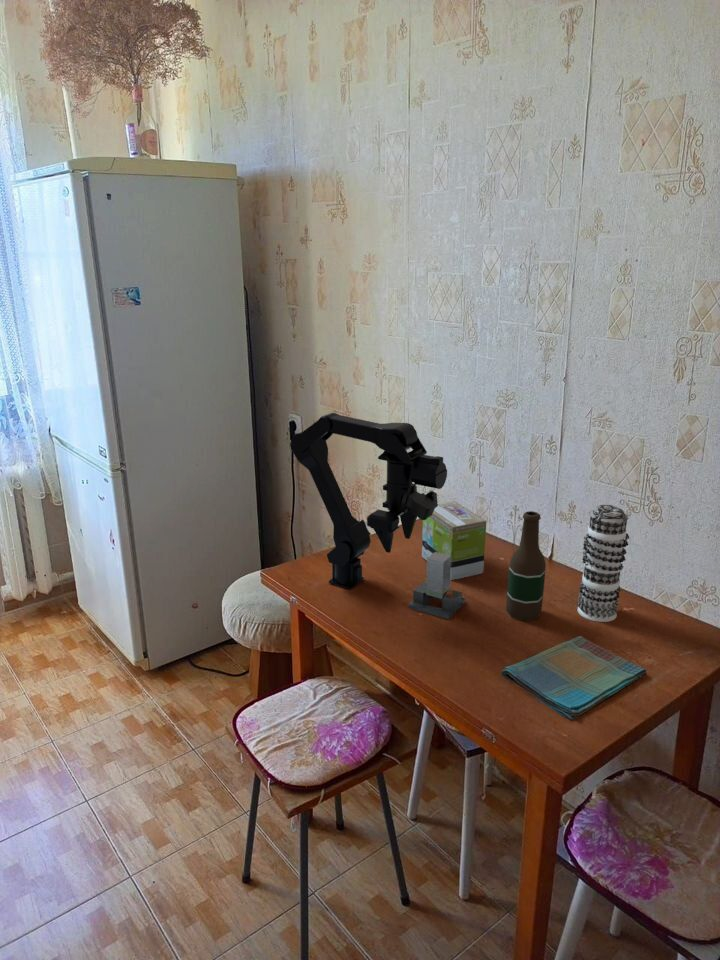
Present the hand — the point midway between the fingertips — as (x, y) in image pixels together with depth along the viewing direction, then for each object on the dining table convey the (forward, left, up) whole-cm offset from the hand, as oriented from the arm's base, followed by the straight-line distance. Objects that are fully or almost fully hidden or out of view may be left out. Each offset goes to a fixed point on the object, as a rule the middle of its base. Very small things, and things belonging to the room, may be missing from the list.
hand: (398, 545), depth 164 cm
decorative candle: (+42, +17, -13) cm, 47 cm away
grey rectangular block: (+10, +1, -10) cm, 14 cm away
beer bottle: (+28, +8, -13) cm, 32 cm away
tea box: (+4, +22, -13) cm, 26 cm away
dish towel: (+44, -10, -14) cm, 48 cm away
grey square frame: (+10, +1, -13) cm, 16 cm away
